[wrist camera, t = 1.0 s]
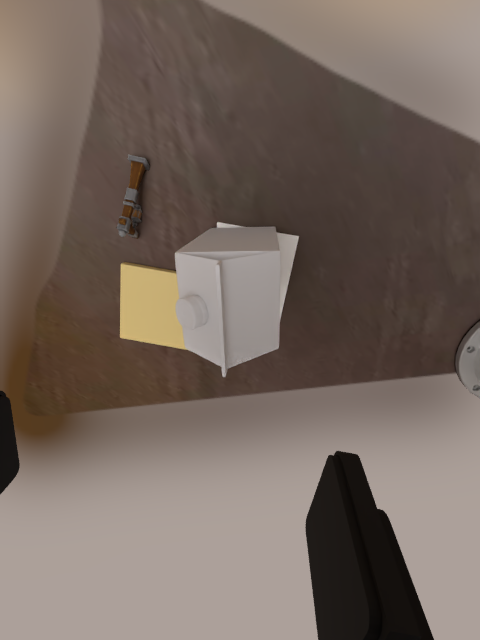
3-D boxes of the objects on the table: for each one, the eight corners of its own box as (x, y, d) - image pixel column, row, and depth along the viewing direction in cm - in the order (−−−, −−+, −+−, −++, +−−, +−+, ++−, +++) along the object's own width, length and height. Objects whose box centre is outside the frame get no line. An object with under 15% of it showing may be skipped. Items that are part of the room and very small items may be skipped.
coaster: (204, 276, 37) (202, 278, 37) (195, 347, 41) (194, 351, 40) (124, 261, 38) (121, 263, 37) (123, 334, 41) (119, 337, 40)
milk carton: (275, 225, 35) (283, 263, 17) (275, 289, 37) (281, 378, 20) (210, 227, 35) (153, 265, 18) (214, 289, 38) (168, 376, 20)
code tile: (298, 235, 35) (298, 236, 35) (276, 333, 40) (276, 334, 39) (217, 221, 35) (217, 222, 35) (205, 321, 40) (204, 322, 40)
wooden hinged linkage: (125, 244, 36) (109, 232, 32) (140, 175, 36) (127, 153, 32) (141, 247, 36) (127, 236, 32) (156, 178, 36) (144, 157, 32)
